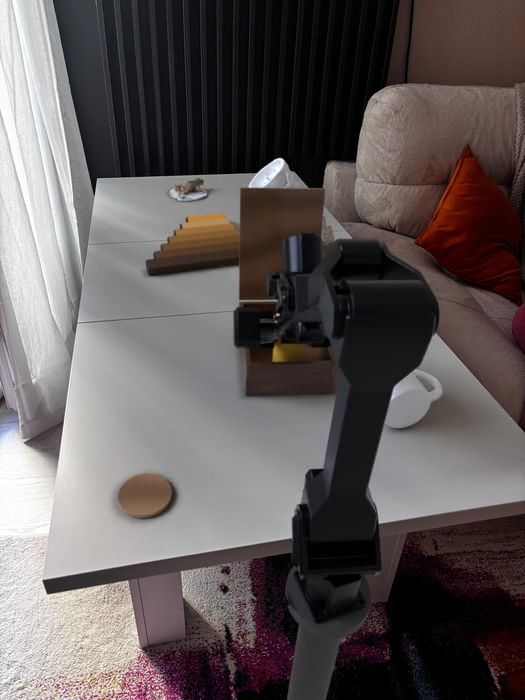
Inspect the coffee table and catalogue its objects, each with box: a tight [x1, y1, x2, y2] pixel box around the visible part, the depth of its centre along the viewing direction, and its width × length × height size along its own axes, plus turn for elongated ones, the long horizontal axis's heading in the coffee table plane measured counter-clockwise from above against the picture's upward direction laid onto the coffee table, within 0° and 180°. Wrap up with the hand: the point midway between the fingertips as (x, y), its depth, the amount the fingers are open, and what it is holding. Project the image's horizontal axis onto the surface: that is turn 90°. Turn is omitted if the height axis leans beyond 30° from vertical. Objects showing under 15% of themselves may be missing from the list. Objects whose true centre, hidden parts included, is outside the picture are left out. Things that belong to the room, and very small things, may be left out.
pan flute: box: [145, 212, 240, 277], centre depth 134 cm, size 25×3×25 cm
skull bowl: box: [248, 157, 301, 188], centre depth 164 cm, size 10×14×12 cm
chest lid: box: [238, 186, 326, 301], centre depth 100 cm, size 20×15×4 cm
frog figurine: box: [168, 177, 208, 202], centre depth 164 cm, size 12×12×4 cm
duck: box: [272, 314, 301, 362], centre depth 92 cm, size 6×5×12 cm
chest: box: [238, 300, 338, 397], centre depth 97 cm, size 20×15×6 cm
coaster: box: [117, 472, 173, 519], centre depth 73 cm, size 7×7×1 cm
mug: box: [384, 368, 443, 429], centre depth 88 cm, size 12×10×8 cm
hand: (286, 337), depth 93 cm, fingers closed on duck, 4 cm apart
